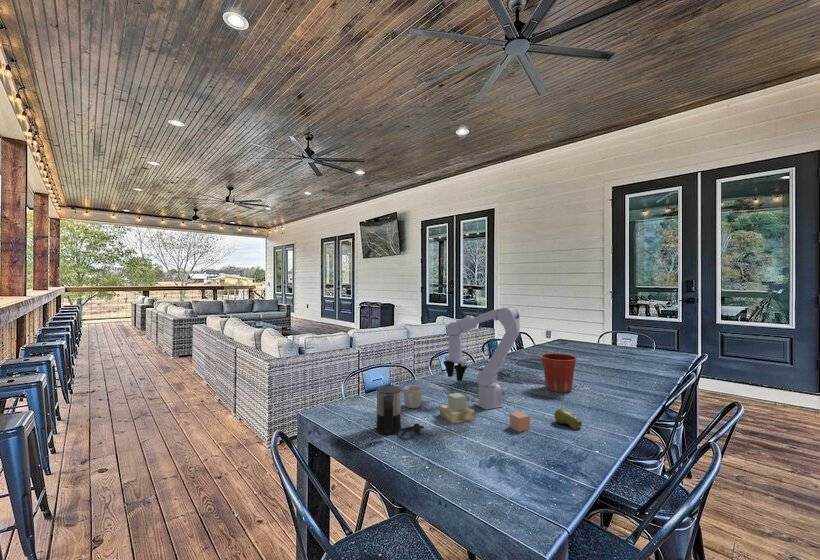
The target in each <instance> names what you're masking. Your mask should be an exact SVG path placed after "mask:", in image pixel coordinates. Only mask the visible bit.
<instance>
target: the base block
mask: <svg viewBox="0 0 820 560" xmlns="http://www.w3.org/2000/svg"><path fill="white" fill-rule="evenodd" d="M439 415H440V416H441V417H442V418H444V419H445V420H446V421H448V422H449V423H450V424H452V425H455V424H459V422H460V423H465V421H466V422H472V421H475V420H476V411H475V409H473V408H471V407H470V406H468V405H466V409H463V410H458V411H454V410H452V409H451V408H449V407H448V404H443V405H440V406H439ZM471 420H472V421H471ZM454 423H455V424H454Z"/></svg>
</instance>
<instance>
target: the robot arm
mask: <svg viewBox="0 0 820 560" xmlns="http://www.w3.org/2000/svg"><path fill="white" fill-rule="evenodd" d="M520 319H521V316H520V313H519V310H518V309H517V308H516V307H514V306H508V307H501V308H497V309H492V310H490V311H487V312H484V313H482V314H479V315H478V316H473V315H469V314H467V315H465V316H464V318H460V319H459V318H458V319H456V321H451V322H450V323H448V324H447V326H446V332H447V334H448V354H446V355H444V361H443V365H444V366H445V370H446V373H447V374H446V375H447V377H448V378H451V377H453V376H454V370H455V373H456V374H455V375H456V381H457V382H462V381H463V379H464V374H465V372H466V370H467V369H468V365H467V361H466V360H464V359H463V358H462V333H466V332H468V331H471V330H474V329H476V328H477V326H478V325H479V324H481V323H484V322H488V321H490V320H494V321H499V322H500V324H501V325H502V327H503V329H504V331H505V333H504V334H503V336H502V338H501V340H500V342H499V343H498V344H497V347H496V349H495V351H494V352H493V353H492V356H491V357H490V359H489V361H488V363H486V365H485V366H484V368H483V369H482V370H481V371H480V372H478V373H477V375H476V381H477V383H478V402H474V405H475V406H477V407H480V408H481V409H483V410H491V409H492V410H493V409H497V408H502V407H504V405H503V391H502V387H501V386H500V384H498V383H497V382H496V381H497V379H498V377H499V371H500V368H501V366H502V365H503V363H504V361H505V359H506V357H507V356H508V354H509V351H511V349H512V347H513V345H514V343H515V342H516V340H517V339H518V336H519V335H520V332H521V330H520V325H521V324H520Z"/></svg>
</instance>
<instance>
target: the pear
mask: <svg viewBox="0 0 820 560" xmlns="http://www.w3.org/2000/svg"><path fill="white" fill-rule="evenodd" d="M553 416H554V419H555V421H556V422H557V423H559V424H562V425H566V424H567V425H568V426H569V427H570V428H571V429H574V430H577V429H578V430H579V429H580V428H581V427H582V426H583V422H582V420H580V418H579V417H578V416H575V415H573V413H572V412H570V411H569V410H567V409H565V408H558V409H556V410H555V411H554V415H553Z"/></svg>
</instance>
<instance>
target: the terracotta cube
mask: <svg viewBox="0 0 820 560" xmlns="http://www.w3.org/2000/svg"><path fill="white" fill-rule="evenodd" d="M509 427H510V428H511V429H513V430H515V431H517V432H519V433H521V432H525V431H529V430H531V416H530V415H528V414H526V413H524V412H522V411H515V412H510V413H509Z"/></svg>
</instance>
